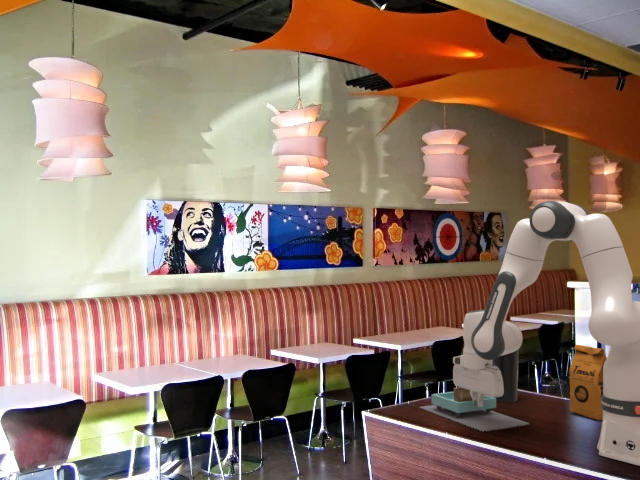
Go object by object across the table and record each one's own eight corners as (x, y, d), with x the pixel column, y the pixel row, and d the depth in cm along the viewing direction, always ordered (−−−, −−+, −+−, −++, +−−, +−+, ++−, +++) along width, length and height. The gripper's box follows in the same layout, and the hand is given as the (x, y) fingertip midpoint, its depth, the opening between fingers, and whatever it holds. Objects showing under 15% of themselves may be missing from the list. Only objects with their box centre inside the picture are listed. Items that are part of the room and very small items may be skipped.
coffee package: (595, 422, 202) (595, 350, 203) (565, 413, 214) (564, 344, 214) (619, 418, 207) (618, 348, 207) (588, 410, 218) (587, 343, 218)
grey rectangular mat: (529, 424, 200) (529, 423, 200) (482, 432, 192) (482, 430, 192) (462, 402, 229) (462, 401, 229) (419, 408, 221) (419, 406, 221)
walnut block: (473, 403, 213) (473, 389, 213) (462, 404, 211) (462, 390, 211) (464, 400, 217) (464, 386, 217) (453, 401, 215) (453, 387, 215)
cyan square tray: (496, 413, 211) (496, 398, 211) (458, 418, 205) (458, 403, 205) (468, 403, 224) (468, 389, 224) (431, 408, 217) (431, 394, 217)
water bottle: (525, 402, 229) (524, 335, 229) (497, 403, 227) (496, 336, 228) (511, 395, 239) (511, 331, 239) (485, 396, 237) (484, 332, 238)
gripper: (508, 366, 198) (508, 412, 198) (465, 355, 217) (465, 398, 217) (492, 367, 196) (492, 414, 195) (449, 357, 214) (449, 400, 214)
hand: (477, 406), depth 206 cm, fingers closed
